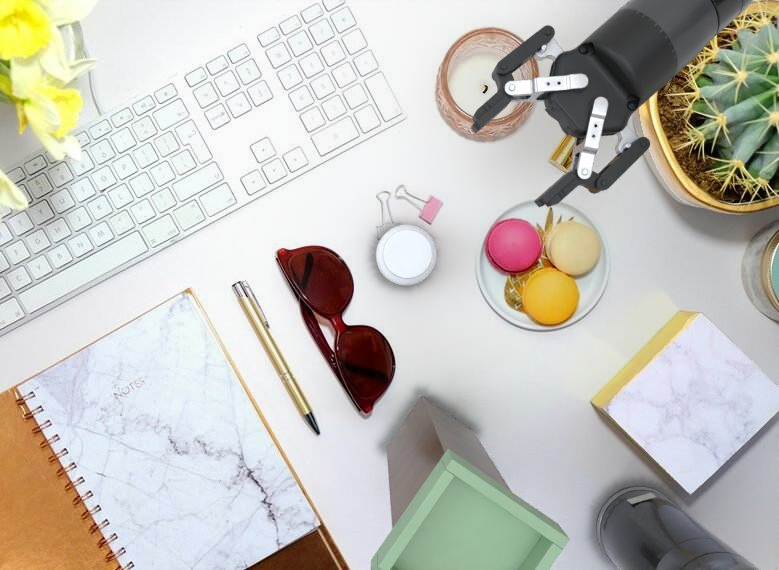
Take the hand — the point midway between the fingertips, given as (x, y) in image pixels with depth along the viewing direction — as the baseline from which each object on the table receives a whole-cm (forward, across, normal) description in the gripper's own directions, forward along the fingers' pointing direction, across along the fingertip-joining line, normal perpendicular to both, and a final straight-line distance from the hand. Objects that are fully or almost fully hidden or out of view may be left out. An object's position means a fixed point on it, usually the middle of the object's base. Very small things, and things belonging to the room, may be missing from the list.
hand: (506, 166), depth 56 cm
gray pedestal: (+22, +17, +16) cm, 32 cm away
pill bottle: (+11, 0, +16) cm, 19 cm away
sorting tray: (+22, +17, -12) cm, 31 cm away
